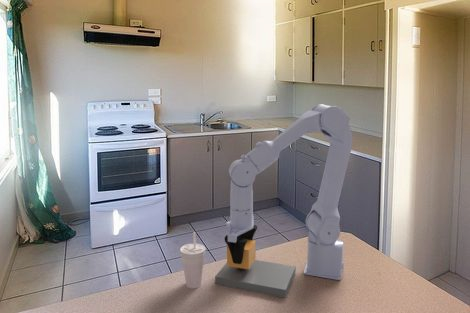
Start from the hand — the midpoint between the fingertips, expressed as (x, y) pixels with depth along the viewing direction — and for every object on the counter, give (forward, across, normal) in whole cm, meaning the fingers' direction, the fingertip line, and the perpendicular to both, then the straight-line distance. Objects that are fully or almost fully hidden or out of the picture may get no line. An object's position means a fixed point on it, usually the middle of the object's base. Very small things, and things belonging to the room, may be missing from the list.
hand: (241, 257), depth 96 cm
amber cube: (+1, 0, 0) cm, 1 cm away
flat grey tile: (+5, 0, +4) cm, 7 cm away
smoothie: (+6, +8, -10) cm, 14 cm away
